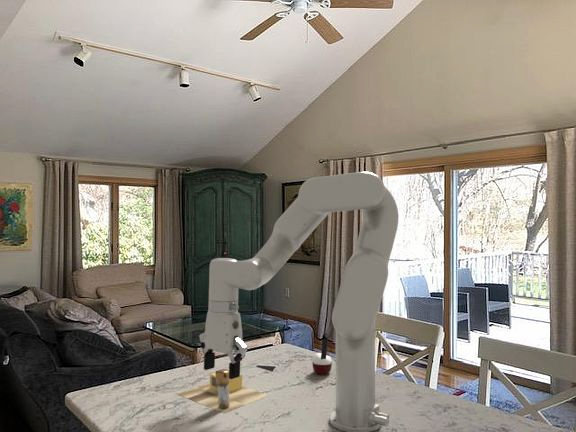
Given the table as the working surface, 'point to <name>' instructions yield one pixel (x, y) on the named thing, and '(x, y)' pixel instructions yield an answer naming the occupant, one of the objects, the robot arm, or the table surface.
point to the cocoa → (322, 360)
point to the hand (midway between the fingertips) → (221, 373)
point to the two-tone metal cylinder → (223, 388)
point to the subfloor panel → (210, 397)
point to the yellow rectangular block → (233, 385)
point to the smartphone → (267, 367)
